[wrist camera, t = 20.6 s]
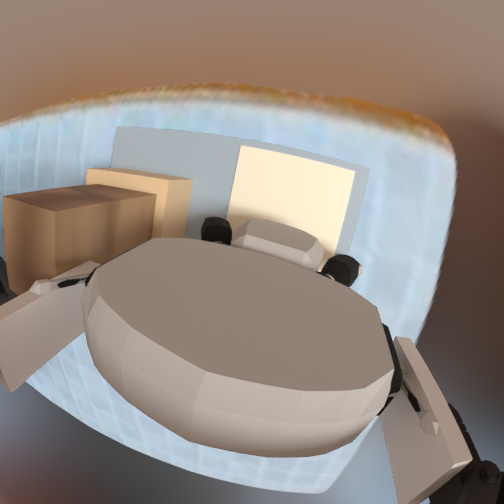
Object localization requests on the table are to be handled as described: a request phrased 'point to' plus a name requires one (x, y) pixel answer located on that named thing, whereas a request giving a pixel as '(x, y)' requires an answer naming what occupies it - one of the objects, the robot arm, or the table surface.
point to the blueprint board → (236, 184)
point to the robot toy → (243, 340)
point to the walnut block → (71, 229)
